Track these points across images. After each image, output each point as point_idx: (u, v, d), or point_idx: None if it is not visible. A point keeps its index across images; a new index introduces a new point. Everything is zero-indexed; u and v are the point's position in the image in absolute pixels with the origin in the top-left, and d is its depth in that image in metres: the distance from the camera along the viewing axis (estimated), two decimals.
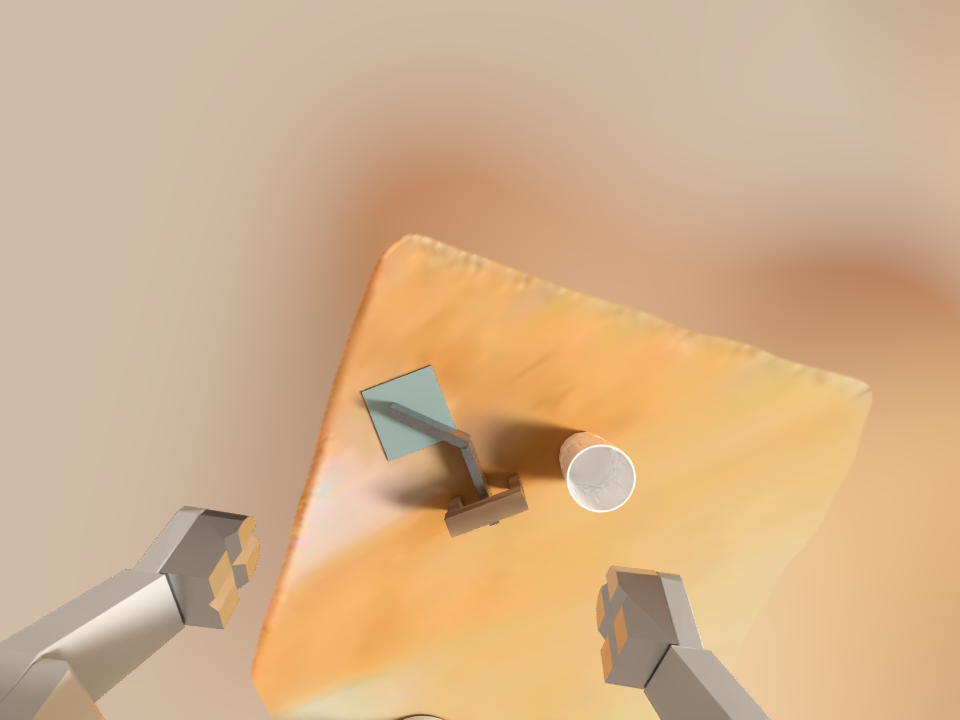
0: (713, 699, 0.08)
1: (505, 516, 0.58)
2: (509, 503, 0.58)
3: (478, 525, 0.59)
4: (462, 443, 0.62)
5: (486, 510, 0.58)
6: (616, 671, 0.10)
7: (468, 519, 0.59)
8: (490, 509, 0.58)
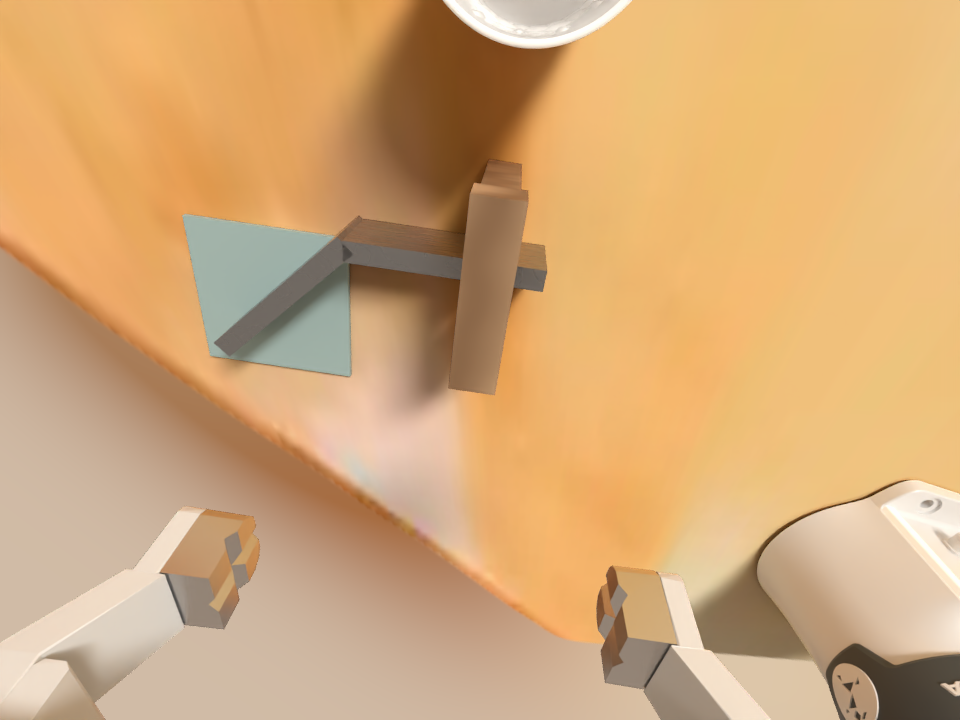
0: (713, 699, 0.08)
1: (513, 266, 0.21)
2: (486, 240, 0.21)
3: (499, 334, 0.23)
4: (335, 252, 0.26)
5: (474, 300, 0.22)
6: (616, 670, 0.10)
7: (474, 346, 0.24)
8: (476, 291, 0.22)
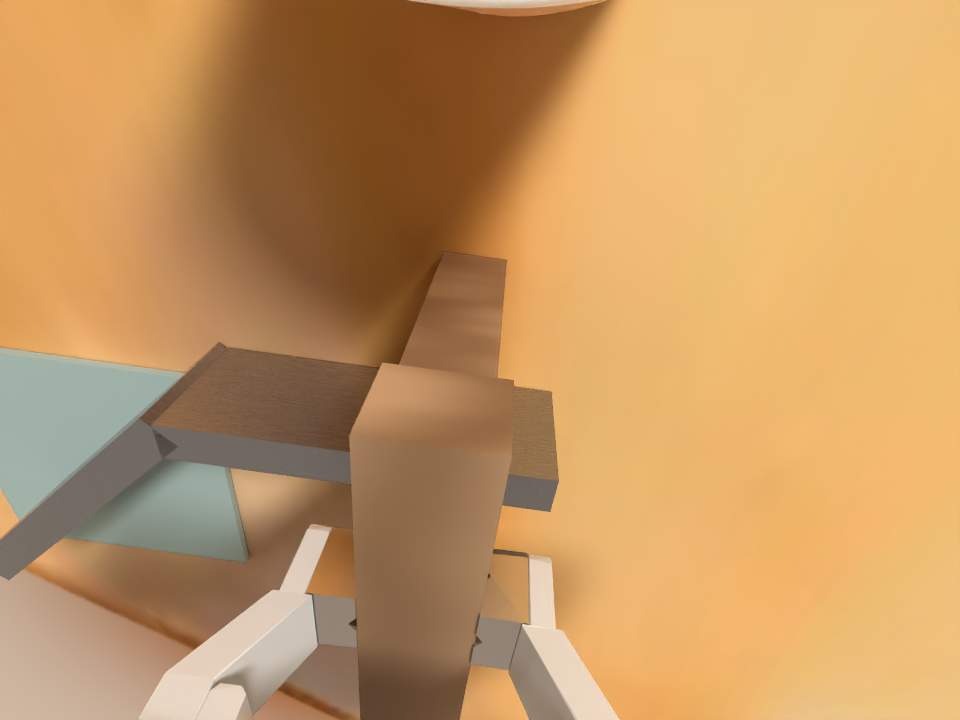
0: (550, 676, 0.08)
1: (480, 572, 0.09)
2: (407, 526, 0.08)
3: (457, 668, 0.11)
4: (142, 442, 0.13)
5: (394, 620, 0.10)
6: (478, 651, 0.10)
7: (403, 682, 0.11)
8: (396, 608, 0.09)
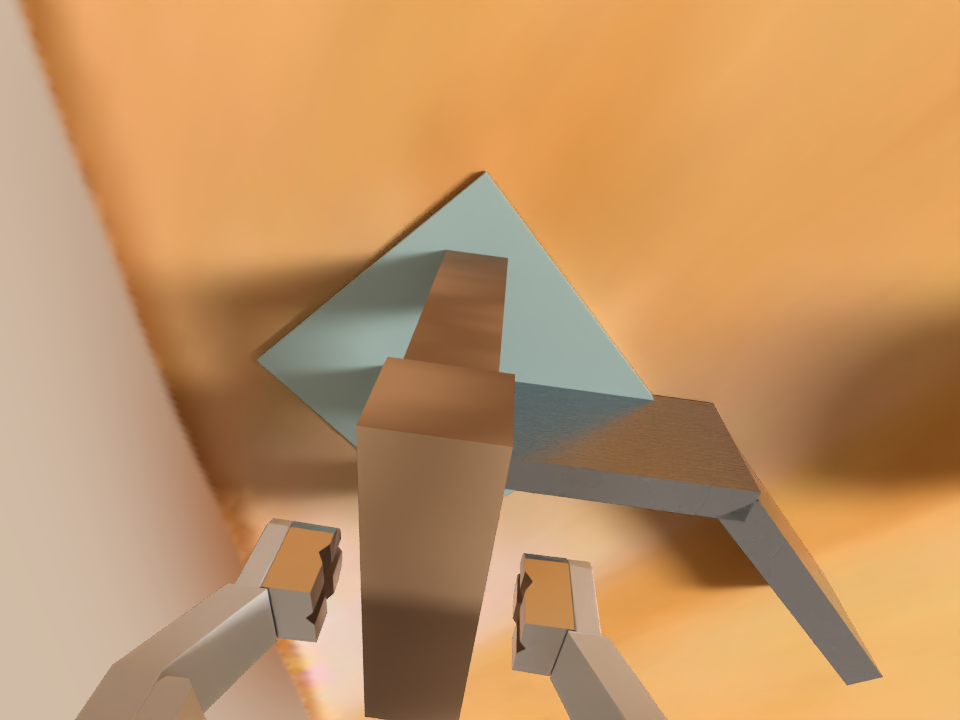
0: (600, 683, 0.08)
1: (482, 560, 0.09)
2: (412, 515, 0.08)
3: (459, 655, 0.11)
4: (728, 502, 0.14)
5: (398, 608, 0.10)
6: (520, 657, 0.10)
7: (407, 670, 0.11)
8: (400, 596, 0.10)
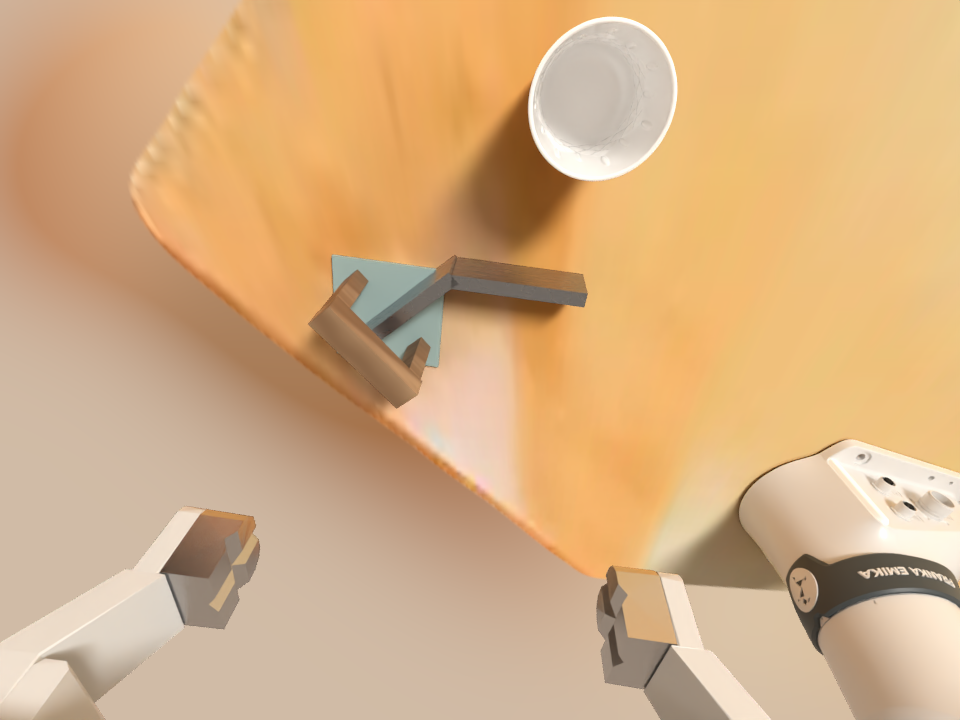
0: (713, 699, 0.08)
1: (354, 335, 0.37)
2: (334, 335, 0.38)
3: (385, 366, 0.39)
4: (446, 282, 0.39)
5: (359, 361, 0.39)
6: (615, 670, 0.10)
7: (382, 380, 0.39)
8: (354, 357, 0.38)
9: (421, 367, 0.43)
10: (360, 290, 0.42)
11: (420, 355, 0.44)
